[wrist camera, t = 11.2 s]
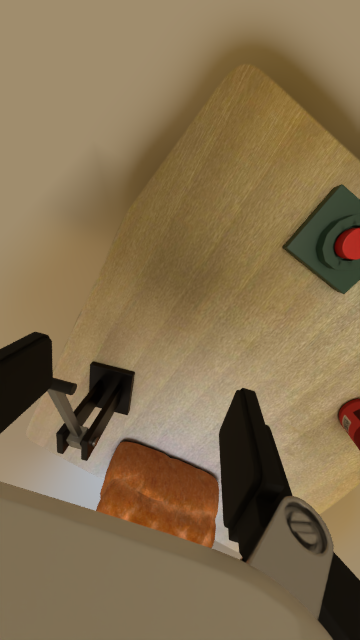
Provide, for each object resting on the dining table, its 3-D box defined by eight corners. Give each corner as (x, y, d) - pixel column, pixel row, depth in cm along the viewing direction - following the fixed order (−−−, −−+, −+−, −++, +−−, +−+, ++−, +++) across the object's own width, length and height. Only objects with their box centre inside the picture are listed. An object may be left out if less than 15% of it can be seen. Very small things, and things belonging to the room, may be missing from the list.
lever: (37, 366, 23) (20, 384, 21) (79, 377, 22) (65, 396, 21) (70, 428, 34) (61, 444, 33) (98, 436, 34) (91, 452, 32)
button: (327, 247, 26) (335, 247, 24) (352, 221, 25) (362, 220, 23) (348, 264, 26) (357, 265, 25) (373, 239, 25) (384, 239, 23)
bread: (199, 503, 54) (196, 597, 40) (108, 465, 53) (72, 546, 39) (223, 475, 49) (230, 571, 35) (123, 432, 48) (87, 512, 34)
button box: (282, 247, 29) (291, 248, 26) (334, 187, 26) (351, 179, 23) (337, 291, 31) (352, 297, 27) (393, 239, 27) (418, 238, 24)
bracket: (93, 361, 42) (42, 413, 29) (134, 371, 41) (101, 430, 28) (91, 401, 46) (46, 462, 33) (129, 411, 45) (98, 477, 33)
